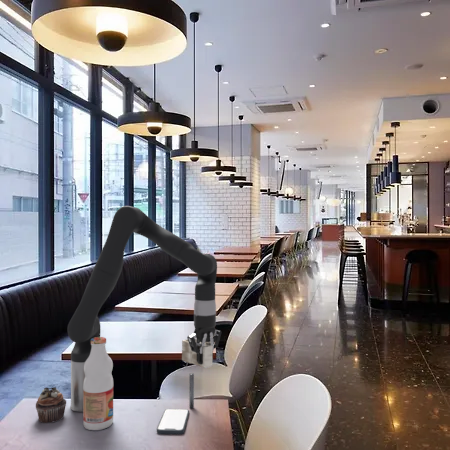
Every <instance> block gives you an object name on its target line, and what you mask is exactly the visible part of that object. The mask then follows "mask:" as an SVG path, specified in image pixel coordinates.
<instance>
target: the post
mask: <svg viewBox="0 0 450 450" xmlns="http://www.w3.org/2000/svg"><path fill="white" fill-rule="evenodd" d="M188 378H189V381H188V383H189V384H188V385H189V388H188V389H189V391H188V393H189V395H188V397H189V399H188V400H189V402H188V403H189V404H188V405H189V406H188V407H189V409H194V408H195V374H194V373H193V372H191V373H189V376H188Z"/></svg>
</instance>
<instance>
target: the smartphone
mask: <svg viewBox="0 0 450 450" xmlns="http://www.w3.org/2000/svg"><path fill="white" fill-rule="evenodd" d="M189 416H190V410H189V409H186V408H185V409H183V408H180V409H179V408H167V409H164V411H163V413H162V415H161V418H160V421H159V422H158V425H157V428H156V434H158V435H183V434H184V433H185V430H186V427H187V423H188V420H189Z"/></svg>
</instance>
